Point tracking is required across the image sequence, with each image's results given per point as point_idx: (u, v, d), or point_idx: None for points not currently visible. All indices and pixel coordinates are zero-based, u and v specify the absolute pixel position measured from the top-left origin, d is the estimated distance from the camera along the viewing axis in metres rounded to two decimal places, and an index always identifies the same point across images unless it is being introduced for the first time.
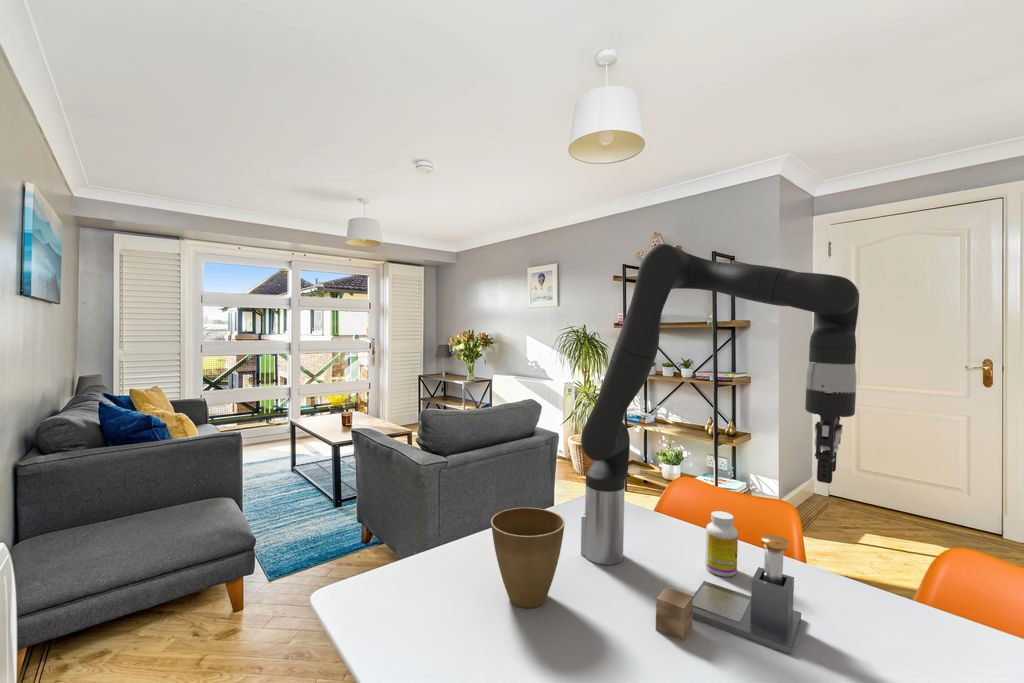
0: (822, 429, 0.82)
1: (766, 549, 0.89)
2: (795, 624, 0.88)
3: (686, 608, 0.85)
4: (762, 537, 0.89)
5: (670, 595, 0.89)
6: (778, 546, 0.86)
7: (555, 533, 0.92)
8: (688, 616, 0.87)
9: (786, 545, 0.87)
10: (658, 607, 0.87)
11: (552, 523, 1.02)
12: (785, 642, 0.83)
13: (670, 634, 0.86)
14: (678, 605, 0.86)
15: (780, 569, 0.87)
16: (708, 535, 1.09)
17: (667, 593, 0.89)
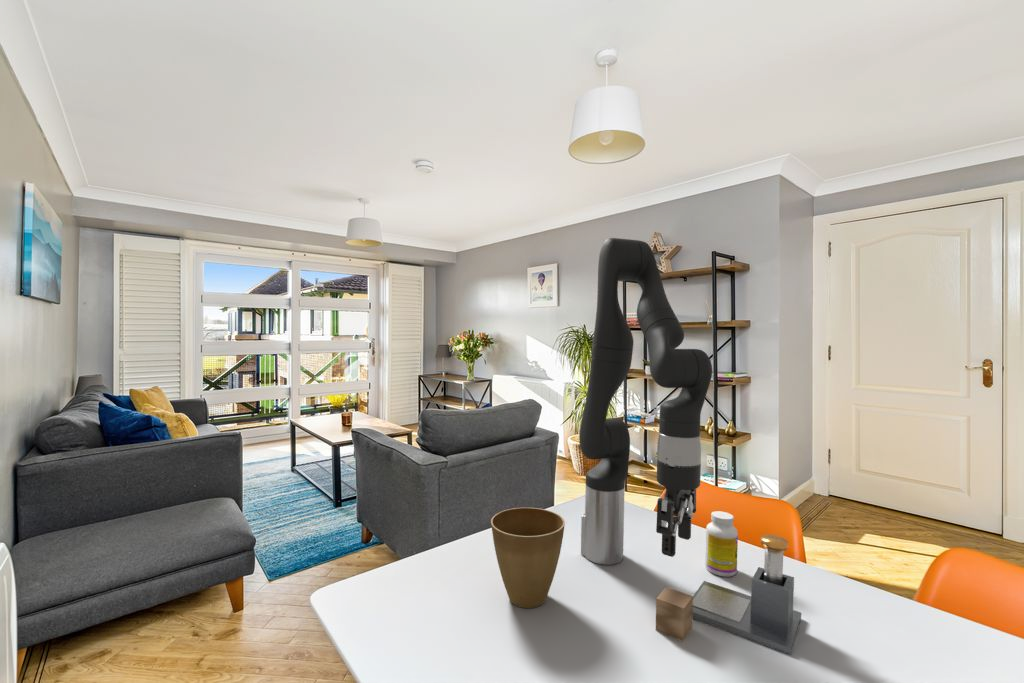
0: (661, 504, 0.82)
1: (766, 549, 0.89)
2: (795, 624, 0.88)
3: (686, 608, 0.85)
4: (762, 537, 0.89)
5: (670, 595, 0.89)
6: (778, 546, 0.86)
7: (555, 533, 0.92)
8: (688, 616, 0.87)
9: (786, 545, 0.87)
10: (658, 607, 0.87)
11: (552, 523, 1.01)
12: (785, 642, 0.83)
13: (670, 634, 0.86)
14: (678, 604, 0.86)
15: (780, 569, 0.87)
16: (708, 535, 1.09)
17: (667, 593, 0.89)
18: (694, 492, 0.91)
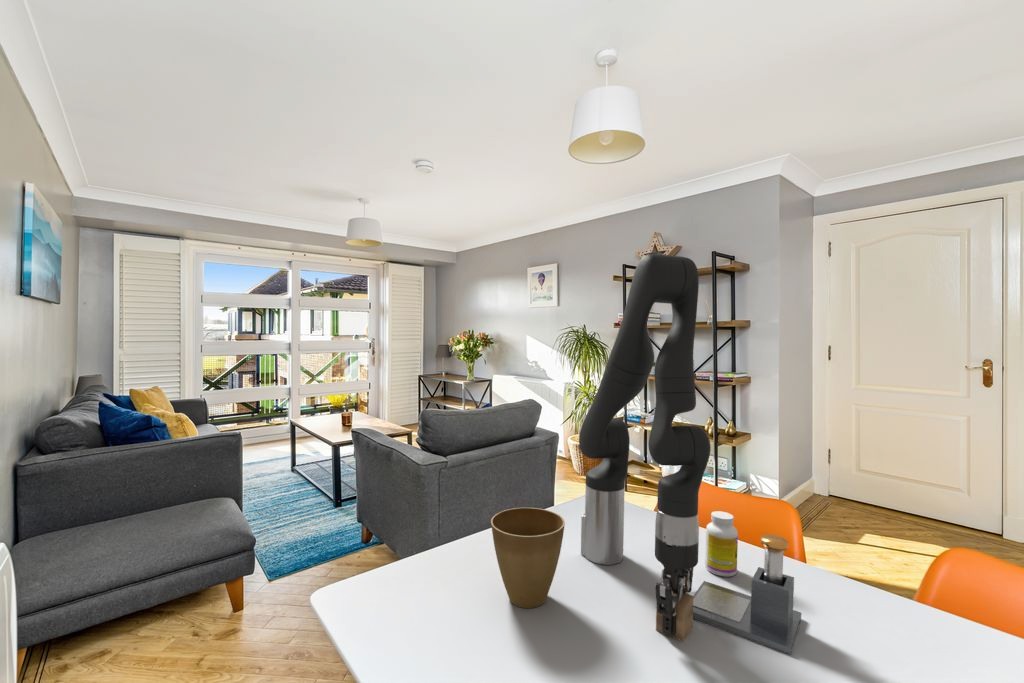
0: (660, 590, 0.83)
1: (766, 549, 0.89)
2: (795, 624, 0.88)
3: (686, 608, 0.85)
4: (762, 537, 0.89)
5: None
6: (778, 546, 0.86)
7: (555, 533, 0.92)
8: (688, 616, 0.87)
9: (786, 545, 0.87)
10: None
11: (552, 523, 1.02)
12: (785, 642, 0.83)
13: None
14: (678, 604, 0.86)
15: (780, 569, 0.87)
16: (708, 535, 1.09)
17: None
18: (691, 569, 0.92)
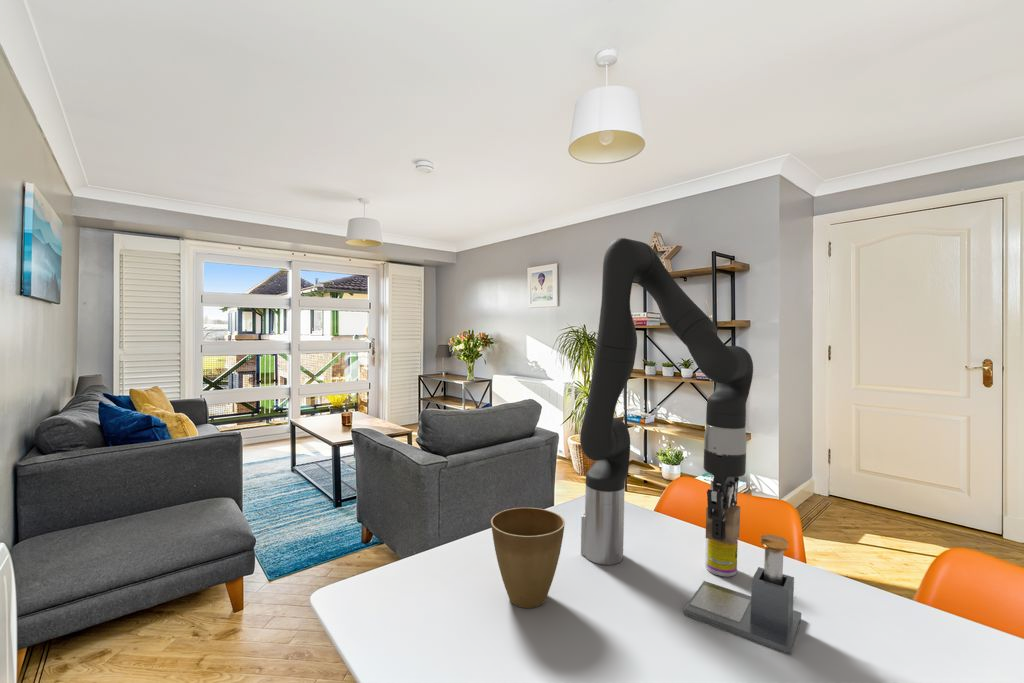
0: (711, 495, 0.89)
1: (766, 549, 0.89)
2: (795, 624, 0.88)
3: (735, 515, 0.91)
4: (762, 537, 0.89)
5: None
6: (778, 546, 0.86)
7: (555, 533, 0.92)
8: (736, 523, 0.93)
9: (786, 545, 0.87)
10: None
11: (552, 523, 1.02)
12: (785, 642, 0.83)
13: None
14: (728, 511, 0.92)
15: (780, 569, 0.87)
16: None
17: None
18: (736, 484, 0.97)
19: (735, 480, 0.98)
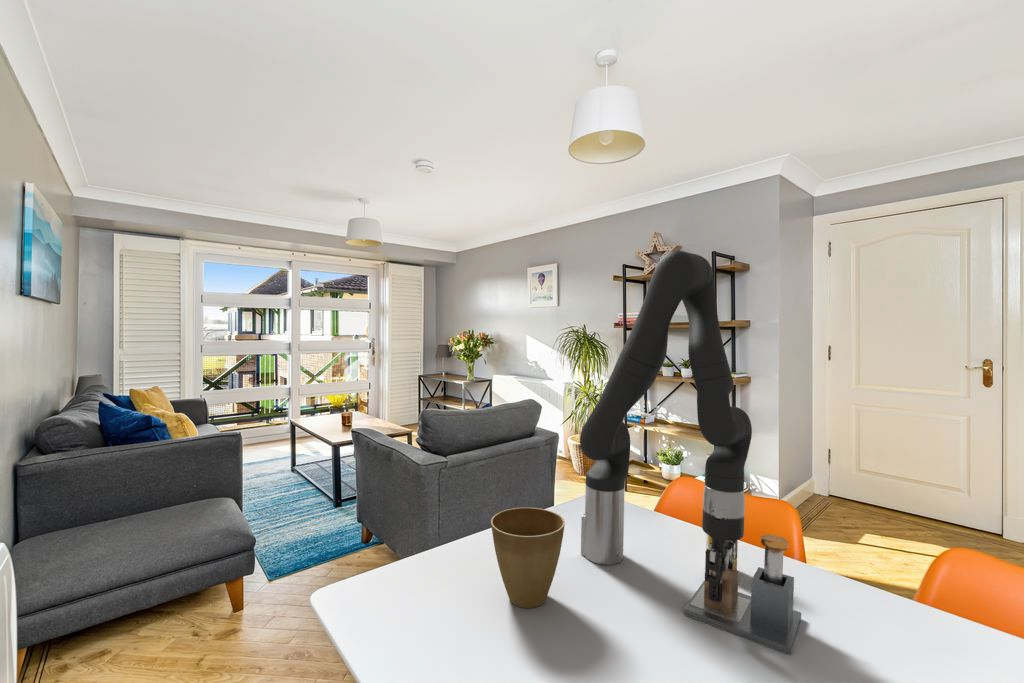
0: (710, 555, 0.89)
1: (766, 549, 0.89)
2: (795, 624, 0.88)
3: (733, 582, 0.92)
4: (762, 537, 0.89)
5: None
6: (778, 546, 0.86)
7: (555, 533, 0.92)
8: (735, 589, 0.93)
9: (786, 545, 0.87)
10: (706, 581, 0.94)
11: (552, 523, 1.01)
12: (785, 642, 0.83)
13: (718, 606, 0.93)
14: (726, 578, 0.92)
15: (780, 569, 0.87)
16: (708, 535, 1.09)
17: None
18: (735, 539, 0.98)
19: None
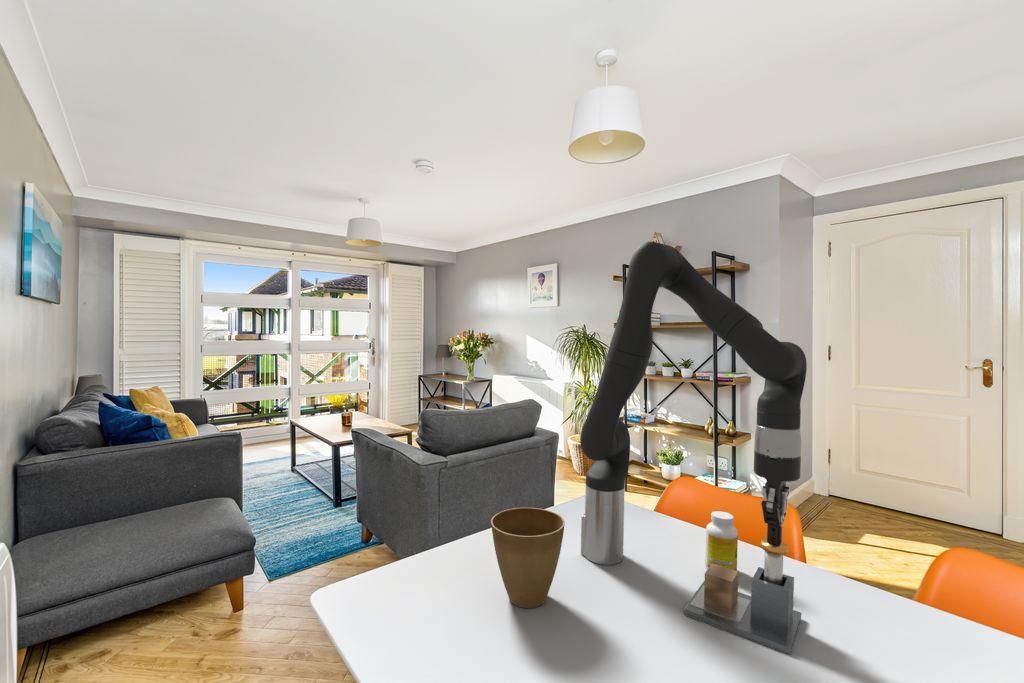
0: (766, 508, 0.84)
1: (766, 553, 0.89)
2: (795, 624, 0.88)
3: (733, 582, 0.92)
4: (762, 541, 0.89)
5: (717, 570, 0.95)
6: (778, 550, 0.86)
7: (555, 533, 0.92)
8: (735, 589, 0.93)
9: (786, 549, 0.87)
10: (706, 581, 0.94)
11: (552, 523, 1.02)
12: (785, 642, 0.83)
13: (718, 606, 0.93)
14: (726, 578, 0.92)
15: (780, 573, 0.87)
16: (708, 535, 1.09)
17: (714, 568, 0.96)
18: None
19: None
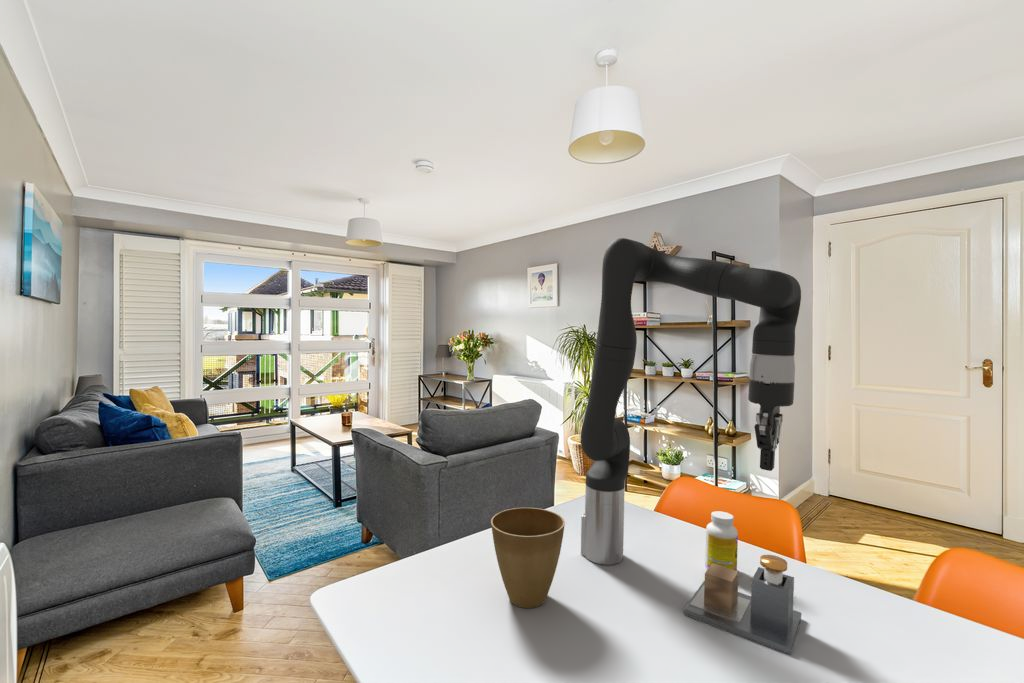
0: (759, 431, 0.86)
1: (765, 570, 0.89)
2: (795, 624, 0.88)
3: (733, 582, 0.92)
4: (761, 558, 0.90)
5: (717, 570, 0.95)
6: (777, 567, 0.87)
7: (555, 533, 0.92)
8: (735, 589, 0.93)
9: (785, 566, 0.87)
10: (706, 581, 0.94)
11: (552, 523, 1.02)
12: (785, 642, 0.83)
13: (718, 606, 0.93)
14: (726, 578, 0.92)
15: None
16: (708, 535, 1.09)
17: (714, 568, 0.96)
18: (780, 424, 0.94)
19: None
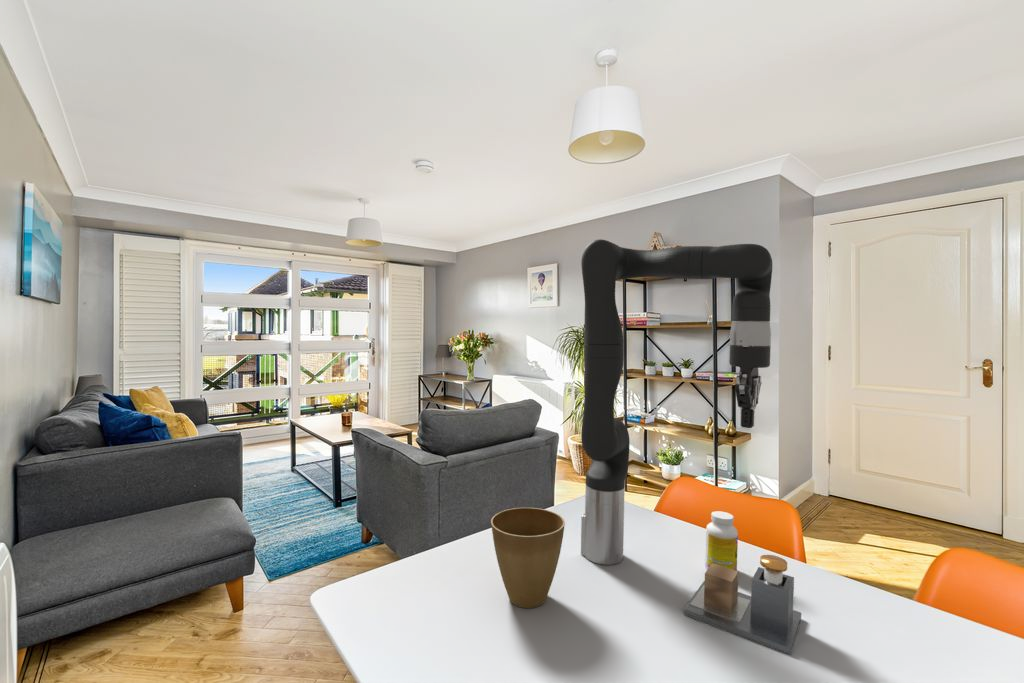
0: (739, 390, 0.95)
1: (765, 570, 0.89)
2: (795, 624, 0.88)
3: (733, 582, 0.92)
4: (761, 558, 0.90)
5: (717, 570, 0.95)
6: (777, 567, 0.87)
7: (555, 533, 0.92)
8: (735, 589, 0.93)
9: (785, 566, 0.87)
10: (706, 581, 0.94)
11: (552, 523, 1.02)
12: (785, 642, 0.83)
13: (718, 606, 0.93)
14: (726, 578, 0.92)
15: None
16: (708, 535, 1.09)
17: (714, 568, 0.96)
18: (759, 386, 1.02)
19: None
